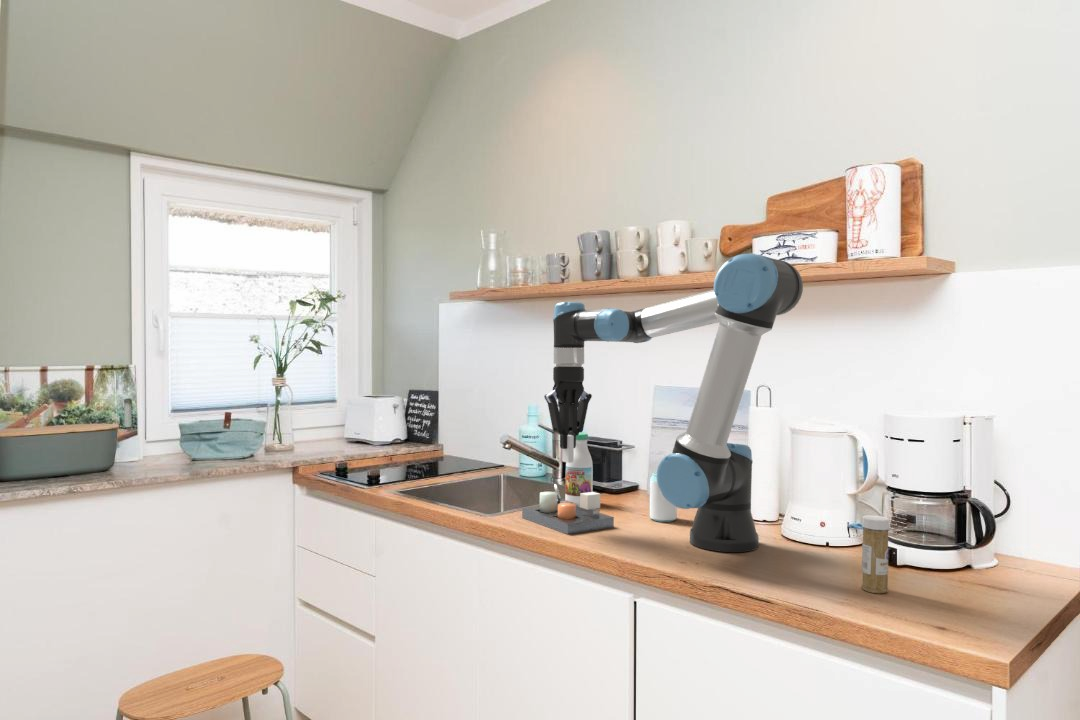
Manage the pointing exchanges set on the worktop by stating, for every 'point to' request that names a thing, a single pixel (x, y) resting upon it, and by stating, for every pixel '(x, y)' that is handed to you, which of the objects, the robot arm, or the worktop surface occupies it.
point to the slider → (590, 500)
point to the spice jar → (875, 553)
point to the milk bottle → (579, 471)
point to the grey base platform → (582, 523)
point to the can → (660, 504)
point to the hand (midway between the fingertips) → (567, 461)
